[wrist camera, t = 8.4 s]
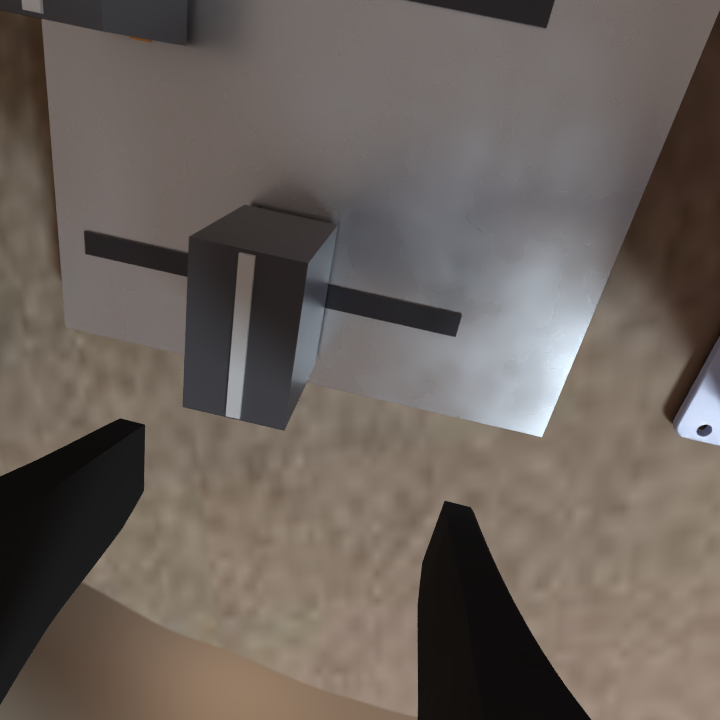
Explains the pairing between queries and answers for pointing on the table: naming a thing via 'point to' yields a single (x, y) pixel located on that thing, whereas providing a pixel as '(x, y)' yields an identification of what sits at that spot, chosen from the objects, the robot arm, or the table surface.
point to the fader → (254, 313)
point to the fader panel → (377, 175)
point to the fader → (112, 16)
